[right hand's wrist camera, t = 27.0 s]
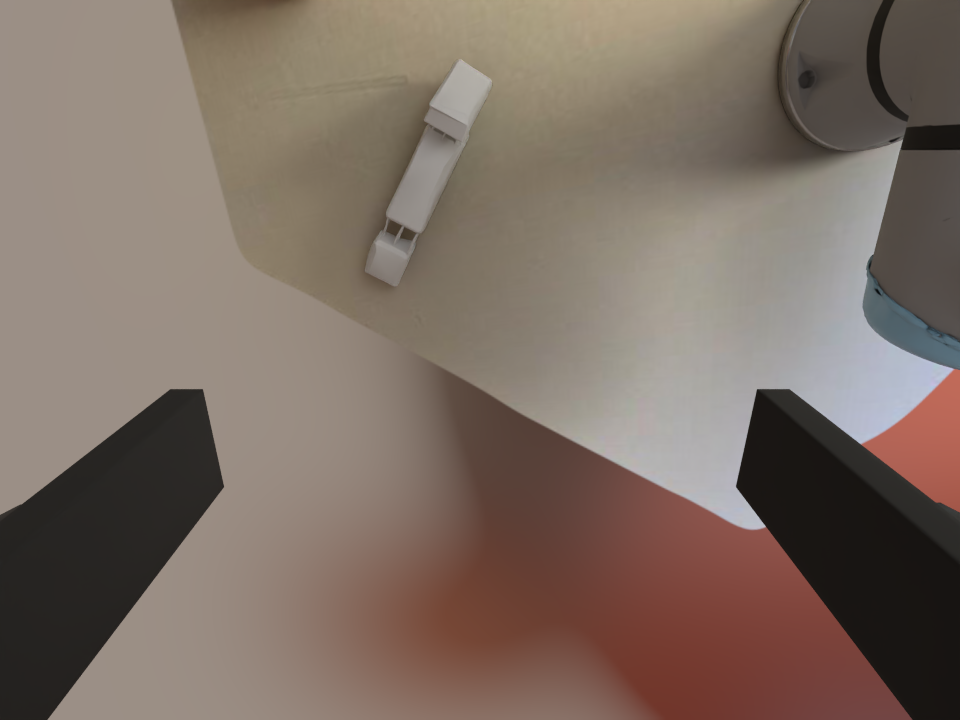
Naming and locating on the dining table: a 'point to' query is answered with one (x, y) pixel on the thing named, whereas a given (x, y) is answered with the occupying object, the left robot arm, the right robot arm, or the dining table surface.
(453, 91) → the white long segmented piece
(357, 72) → the dining table surface
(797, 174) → the dining table surface
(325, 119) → the dining table surface
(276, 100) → the dining table surface
